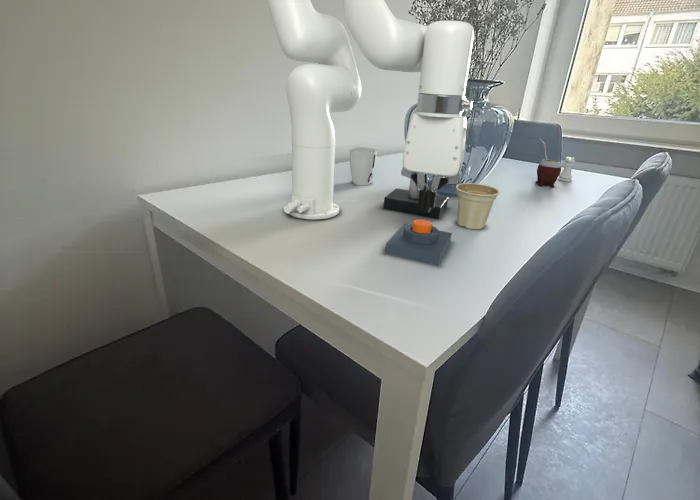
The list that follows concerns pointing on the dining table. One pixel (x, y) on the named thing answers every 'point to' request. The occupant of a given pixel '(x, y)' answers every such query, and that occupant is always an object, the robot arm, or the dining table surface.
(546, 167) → the mate gourd
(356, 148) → the cup
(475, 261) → the dining table surface
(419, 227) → the button
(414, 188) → the dial
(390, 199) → the panel
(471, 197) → the flower pot
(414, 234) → the button housing
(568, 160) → the rook chess piece
